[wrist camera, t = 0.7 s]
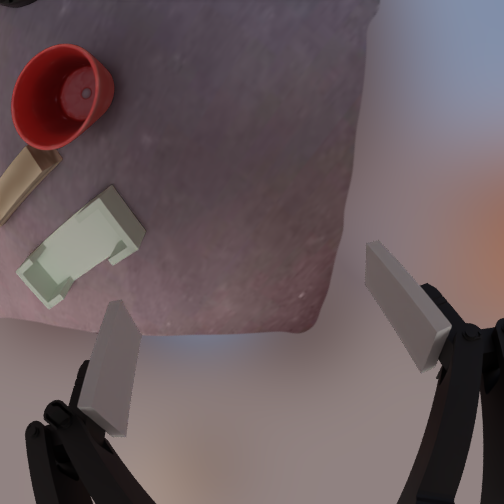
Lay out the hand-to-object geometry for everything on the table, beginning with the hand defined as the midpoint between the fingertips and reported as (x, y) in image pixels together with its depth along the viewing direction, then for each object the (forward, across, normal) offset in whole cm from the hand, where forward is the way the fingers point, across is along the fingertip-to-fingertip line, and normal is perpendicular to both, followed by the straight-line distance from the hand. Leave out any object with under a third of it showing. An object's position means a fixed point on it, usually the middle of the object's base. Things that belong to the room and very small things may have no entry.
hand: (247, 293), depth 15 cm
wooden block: (+25, -29, +7) cm, 39 cm away
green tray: (+24, -23, -5) cm, 34 cm away
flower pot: (+25, -14, +15) cm, 32 cm away
